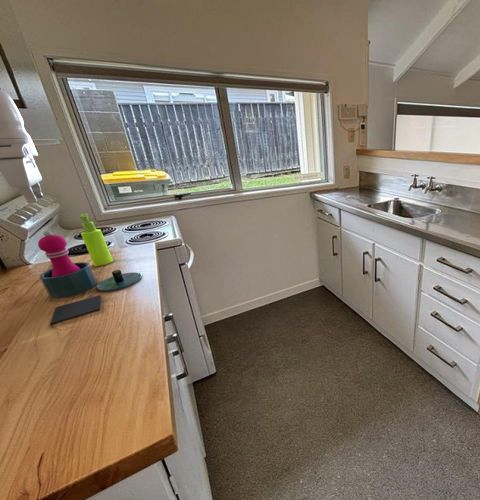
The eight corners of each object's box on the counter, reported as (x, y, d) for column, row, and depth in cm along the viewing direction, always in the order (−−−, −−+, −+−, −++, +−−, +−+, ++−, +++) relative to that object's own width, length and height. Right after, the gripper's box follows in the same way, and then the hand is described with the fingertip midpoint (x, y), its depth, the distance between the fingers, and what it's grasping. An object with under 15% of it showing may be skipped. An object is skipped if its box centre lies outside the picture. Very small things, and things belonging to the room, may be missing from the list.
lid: (97, 297, 87) (91, 284, 85) (98, 283, 96) (93, 270, 94) (143, 284, 94) (139, 271, 92) (141, 272, 102) (136, 260, 101)
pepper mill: (66, 286, 93) (38, 229, 86) (92, 281, 96) (67, 225, 88) (54, 297, 87) (22, 236, 79) (82, 292, 89) (55, 232, 82)
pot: (47, 304, 84) (36, 282, 81) (53, 289, 93) (43, 269, 90) (96, 291, 91) (87, 270, 88) (98, 278, 99) (89, 259, 96)
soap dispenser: (94, 268, 107) (72, 217, 100) (94, 262, 112) (73, 214, 105) (113, 263, 111) (93, 214, 103) (112, 258, 116) (93, 211, 108)
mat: (51, 326, 74) (50, 323, 73) (57, 310, 81) (55, 307, 81) (100, 311, 79) (99, 308, 79) (101, 297, 87) (100, 294, 86)
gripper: (6, 150, 83) (28, 197, 88) (-17, 151, 68) (12, 207, 73) (36, 149, 87) (56, 193, 92) (21, 150, 72) (45, 203, 77)
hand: (36, 200), depth 83 cm, fingers open, 8 cm apart
